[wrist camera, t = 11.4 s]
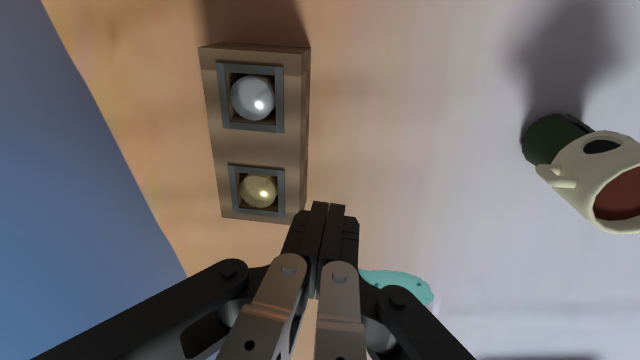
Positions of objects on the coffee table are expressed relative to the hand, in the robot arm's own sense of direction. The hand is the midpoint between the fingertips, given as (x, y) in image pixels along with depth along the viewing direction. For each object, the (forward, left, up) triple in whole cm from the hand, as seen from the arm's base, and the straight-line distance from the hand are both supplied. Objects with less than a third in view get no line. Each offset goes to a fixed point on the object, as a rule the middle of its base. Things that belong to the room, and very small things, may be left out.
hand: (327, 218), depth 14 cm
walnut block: (+5, -9, -24) cm, 26 cm away
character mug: (+3, +24, -24) cm, 34 cm away
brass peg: (+11, -9, -24) cm, 28 cm away
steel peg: (0, -9, -24) cm, 26 cm away
